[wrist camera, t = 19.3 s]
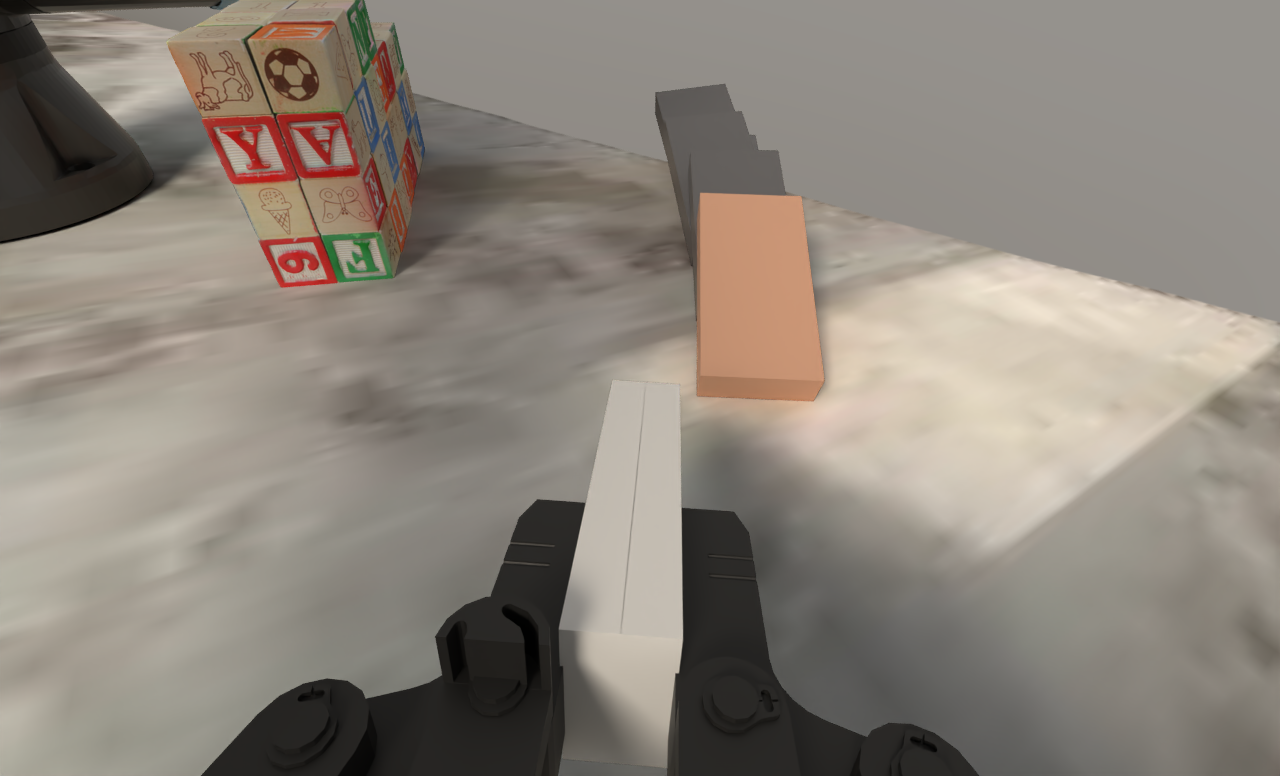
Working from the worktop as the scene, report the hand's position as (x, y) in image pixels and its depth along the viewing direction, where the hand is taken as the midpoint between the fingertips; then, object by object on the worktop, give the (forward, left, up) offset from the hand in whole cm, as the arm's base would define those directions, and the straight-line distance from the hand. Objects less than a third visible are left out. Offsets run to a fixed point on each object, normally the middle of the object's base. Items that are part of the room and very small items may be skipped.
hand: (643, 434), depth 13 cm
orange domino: (-5, +10, -7) cm, 13 cm away
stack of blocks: (-35, +1, -8) cm, 36 cm away
